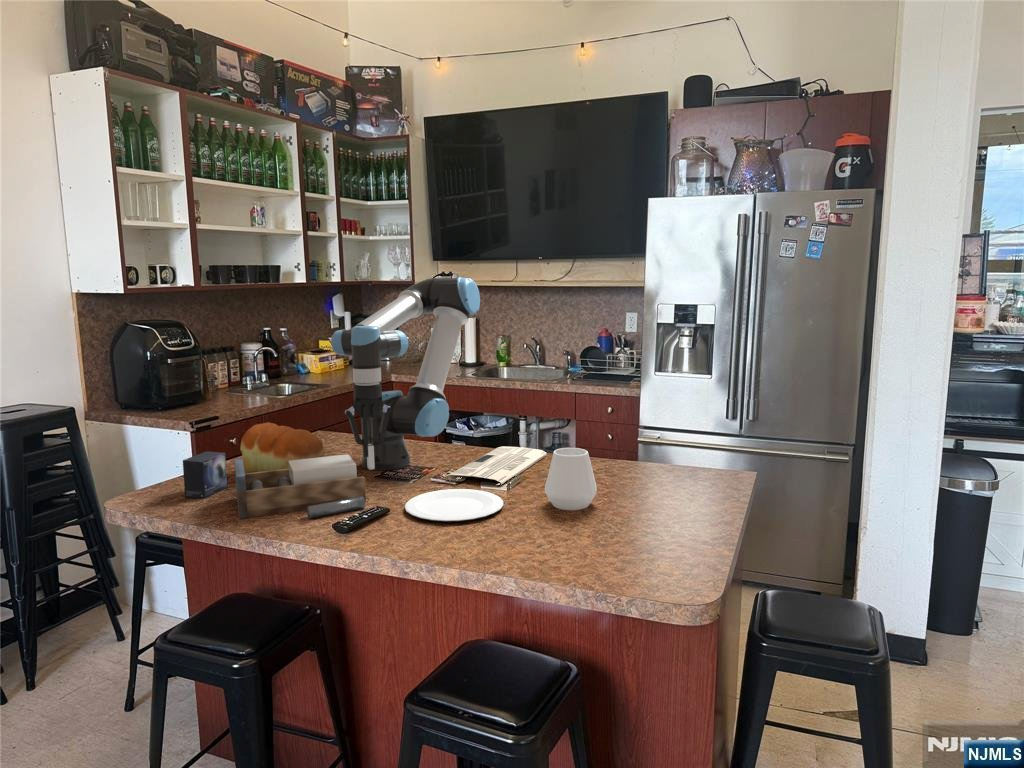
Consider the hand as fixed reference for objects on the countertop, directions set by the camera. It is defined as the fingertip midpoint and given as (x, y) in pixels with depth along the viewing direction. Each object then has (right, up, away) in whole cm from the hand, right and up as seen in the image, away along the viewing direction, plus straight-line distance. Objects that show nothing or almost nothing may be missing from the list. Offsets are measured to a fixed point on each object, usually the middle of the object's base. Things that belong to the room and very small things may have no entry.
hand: (370, 467), depth 190 cm
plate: (+24, -9, -15) cm, 30 cm away
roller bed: (-17, -8, -6) cm, 20 cm away
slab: (-12, -2, -5) cm, 13 cm away
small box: (-46, -7, +1) cm, 46 cm away
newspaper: (+36, -3, +23) cm, 43 cm away
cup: (+54, -8, -13) cm, 56 cm away
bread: (-30, -5, +17) cm, 35 cm away
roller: (-5, -9, -17) cm, 20 cm away
